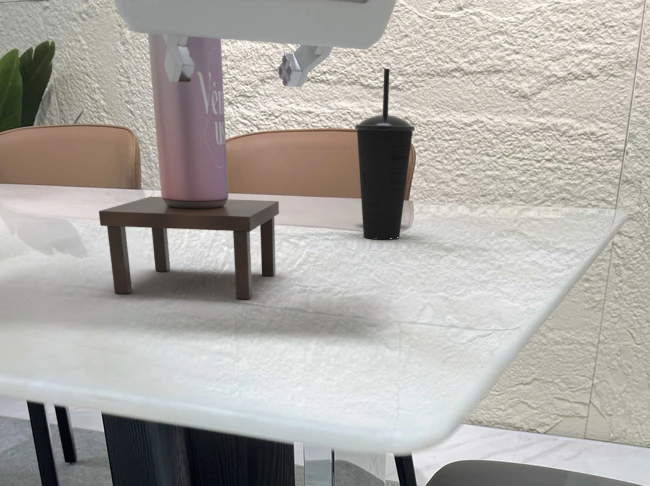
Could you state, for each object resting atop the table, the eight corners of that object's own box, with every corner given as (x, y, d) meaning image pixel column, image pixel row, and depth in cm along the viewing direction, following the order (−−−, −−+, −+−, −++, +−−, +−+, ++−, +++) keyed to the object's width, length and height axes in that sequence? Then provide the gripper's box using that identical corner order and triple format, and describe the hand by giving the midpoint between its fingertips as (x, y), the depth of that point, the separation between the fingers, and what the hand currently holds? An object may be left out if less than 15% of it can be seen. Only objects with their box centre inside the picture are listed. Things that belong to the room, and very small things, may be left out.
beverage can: (193, 199, 74) (181, 18, 67) (242, 205, 71) (234, 16, 65) (148, 205, 69) (130, 10, 63) (198, 211, 67) (185, 8, 60)
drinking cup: (383, 231, 109) (389, 71, 100) (421, 238, 103) (430, 69, 95) (341, 235, 104) (343, 67, 95) (378, 243, 99) (384, 66, 90)
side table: (108, 294, 68) (98, 211, 65) (156, 268, 80) (150, 196, 77) (252, 300, 67) (249, 216, 64) (280, 273, 79) (278, 201, 76)
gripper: (409, -113, 53) (334, 54, 65) (117, -175, 43) (90, 37, 55) (445, -46, 52) (363, 113, 64) (153, -92, 42) (118, 108, 53)
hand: (235, 78), depth 59 cm, fingers open, 8 cm apart
